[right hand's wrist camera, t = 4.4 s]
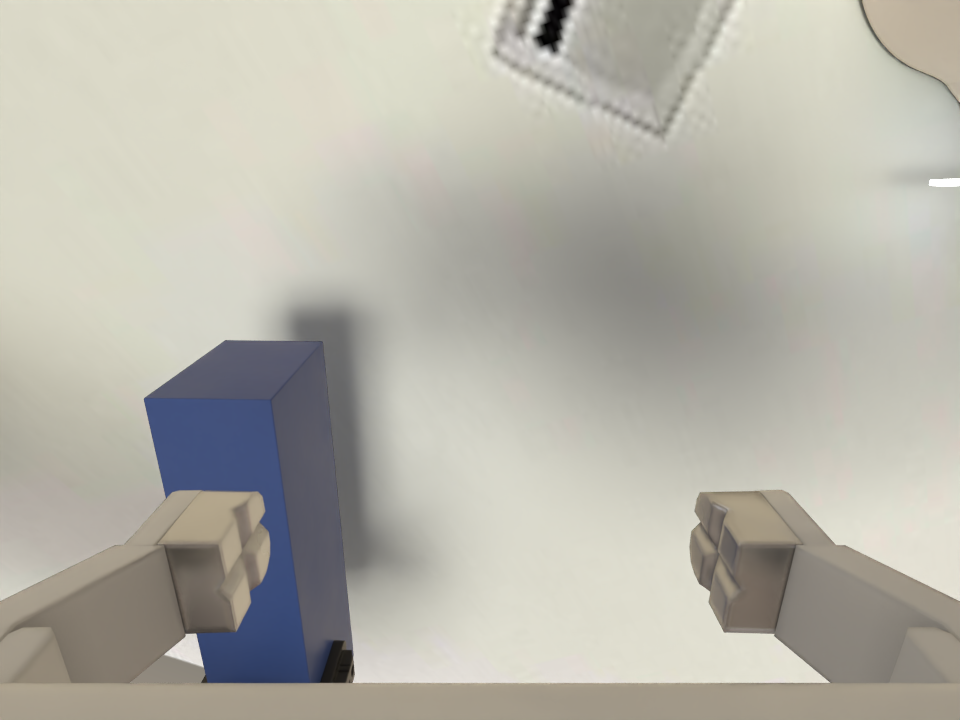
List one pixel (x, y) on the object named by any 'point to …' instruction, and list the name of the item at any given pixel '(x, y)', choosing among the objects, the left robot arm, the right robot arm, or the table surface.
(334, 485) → the bar
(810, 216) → the table surface
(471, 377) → the table surface
